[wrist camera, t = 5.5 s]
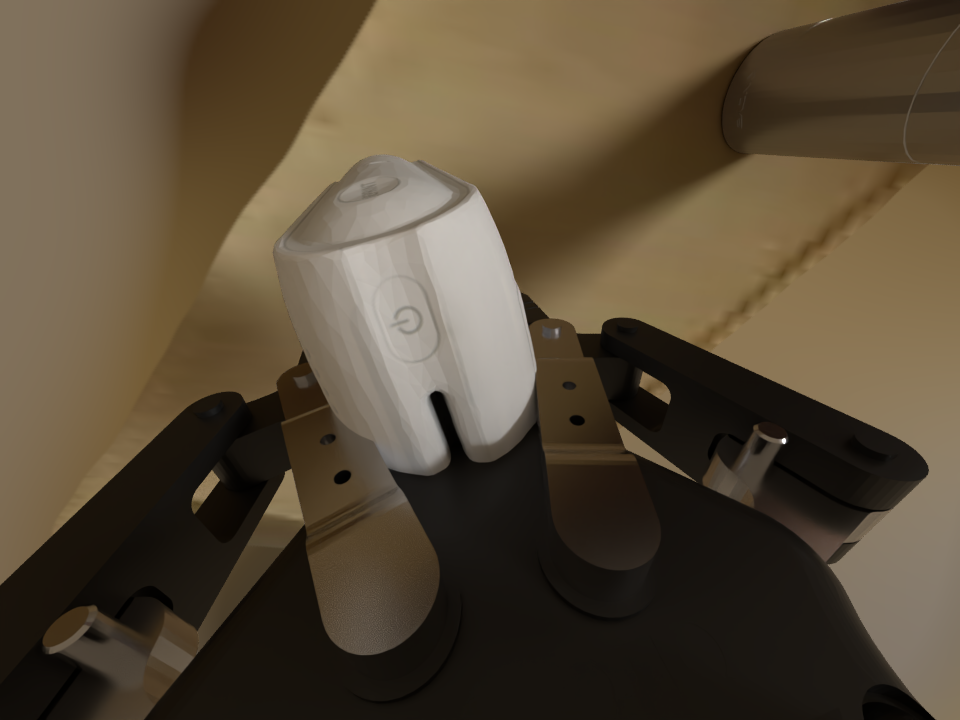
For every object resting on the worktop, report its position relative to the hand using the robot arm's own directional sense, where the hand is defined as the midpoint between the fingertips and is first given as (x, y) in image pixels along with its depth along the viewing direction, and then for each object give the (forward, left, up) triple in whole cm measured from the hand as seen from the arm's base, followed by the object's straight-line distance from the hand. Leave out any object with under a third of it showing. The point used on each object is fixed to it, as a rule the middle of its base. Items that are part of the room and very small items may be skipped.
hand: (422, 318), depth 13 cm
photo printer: (0, 0, -5) cm, 5 cm away
